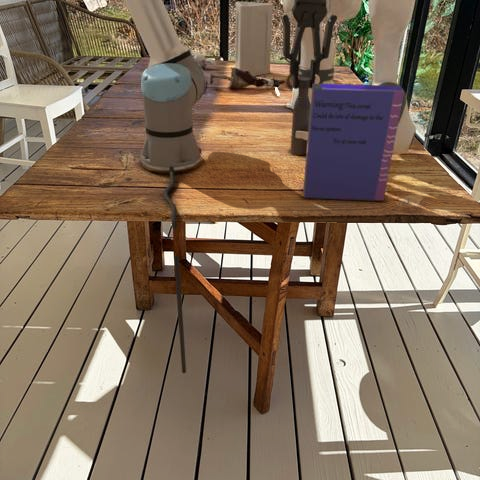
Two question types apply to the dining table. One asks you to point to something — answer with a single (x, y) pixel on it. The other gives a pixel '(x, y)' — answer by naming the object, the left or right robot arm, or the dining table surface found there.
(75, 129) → the dining table surface
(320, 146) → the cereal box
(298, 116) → the bottle
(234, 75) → the figurine
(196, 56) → the toy
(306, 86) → the cap
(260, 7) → the paper bag
